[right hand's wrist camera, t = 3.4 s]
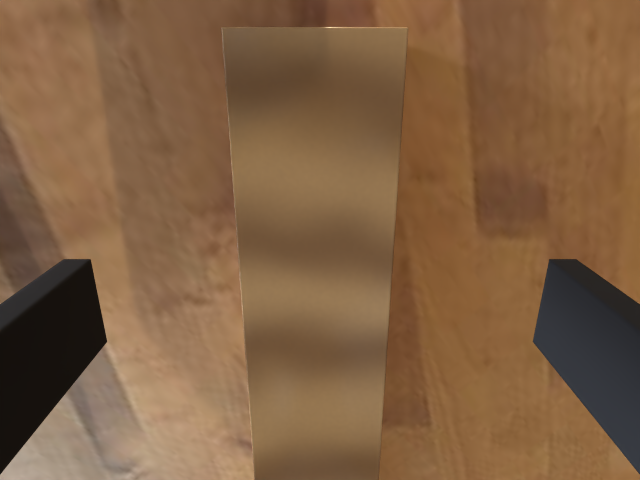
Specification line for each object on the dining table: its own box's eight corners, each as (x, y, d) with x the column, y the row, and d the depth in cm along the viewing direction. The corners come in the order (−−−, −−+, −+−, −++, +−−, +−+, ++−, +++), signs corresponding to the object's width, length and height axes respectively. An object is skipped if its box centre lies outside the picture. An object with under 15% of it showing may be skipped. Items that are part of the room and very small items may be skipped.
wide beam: (244, 38, 27) (221, 26, 20) (386, 38, 27) (408, 27, 20) (276, 600, 46) (269, 688, 40) (358, 600, 46) (364, 687, 40)
